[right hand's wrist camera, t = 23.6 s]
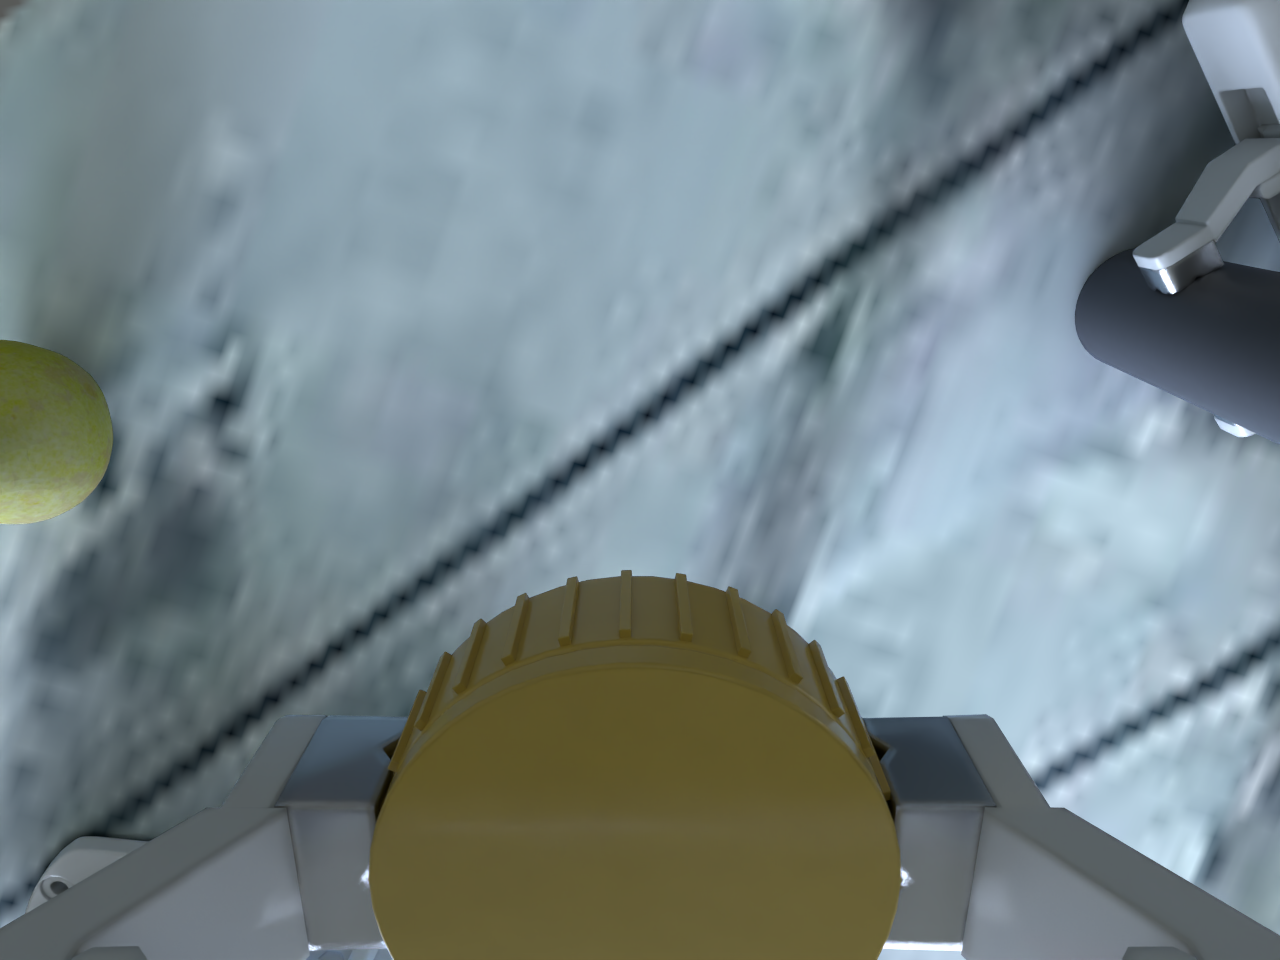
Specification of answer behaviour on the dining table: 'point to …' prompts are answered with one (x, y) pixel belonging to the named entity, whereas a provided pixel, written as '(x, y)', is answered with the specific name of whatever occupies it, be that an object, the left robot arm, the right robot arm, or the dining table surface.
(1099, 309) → the jar
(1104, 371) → the dining table surface
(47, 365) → the fruit
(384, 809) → the lid
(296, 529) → the dining table surface
